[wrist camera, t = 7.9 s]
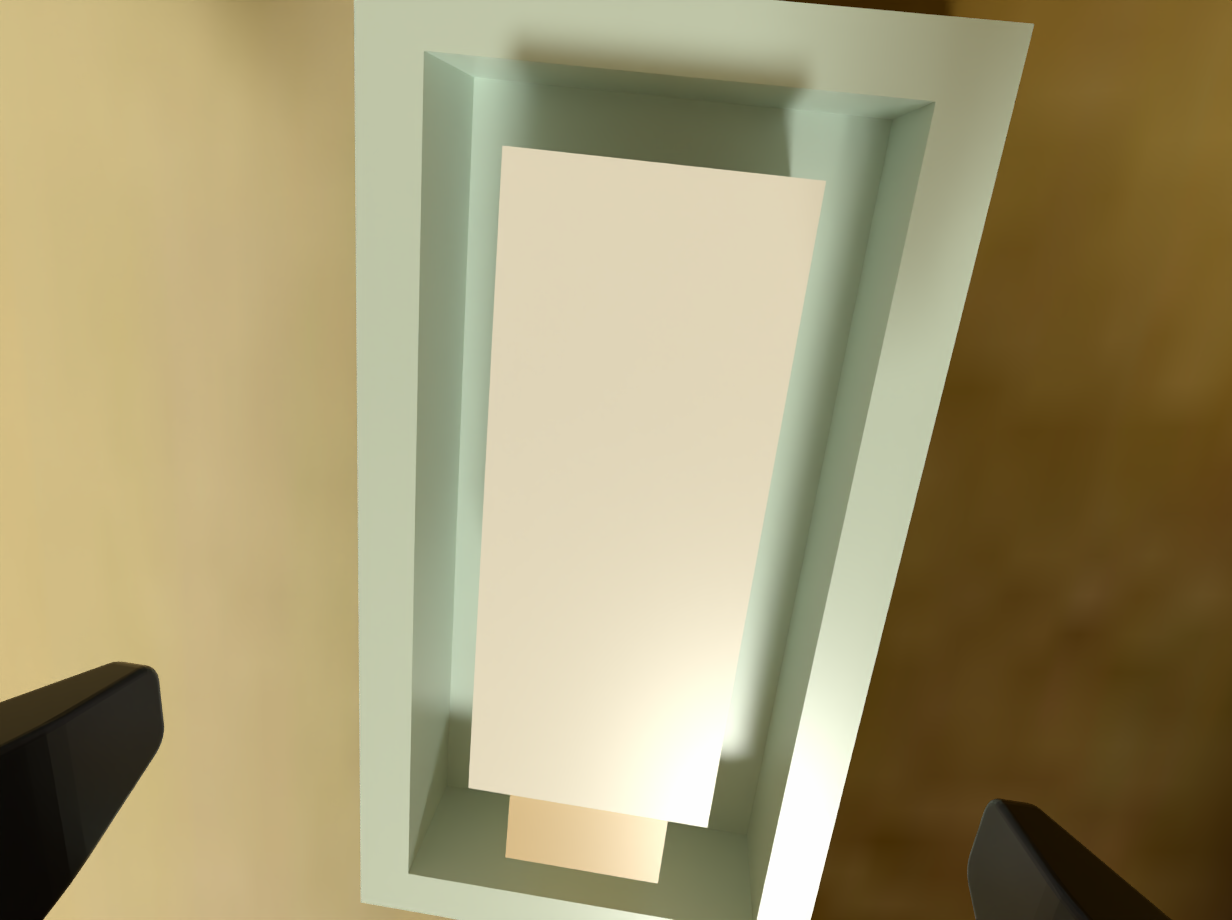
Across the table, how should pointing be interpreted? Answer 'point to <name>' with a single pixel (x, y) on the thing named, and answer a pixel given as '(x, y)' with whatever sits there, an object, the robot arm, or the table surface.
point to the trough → (811, 425)
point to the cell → (626, 488)
